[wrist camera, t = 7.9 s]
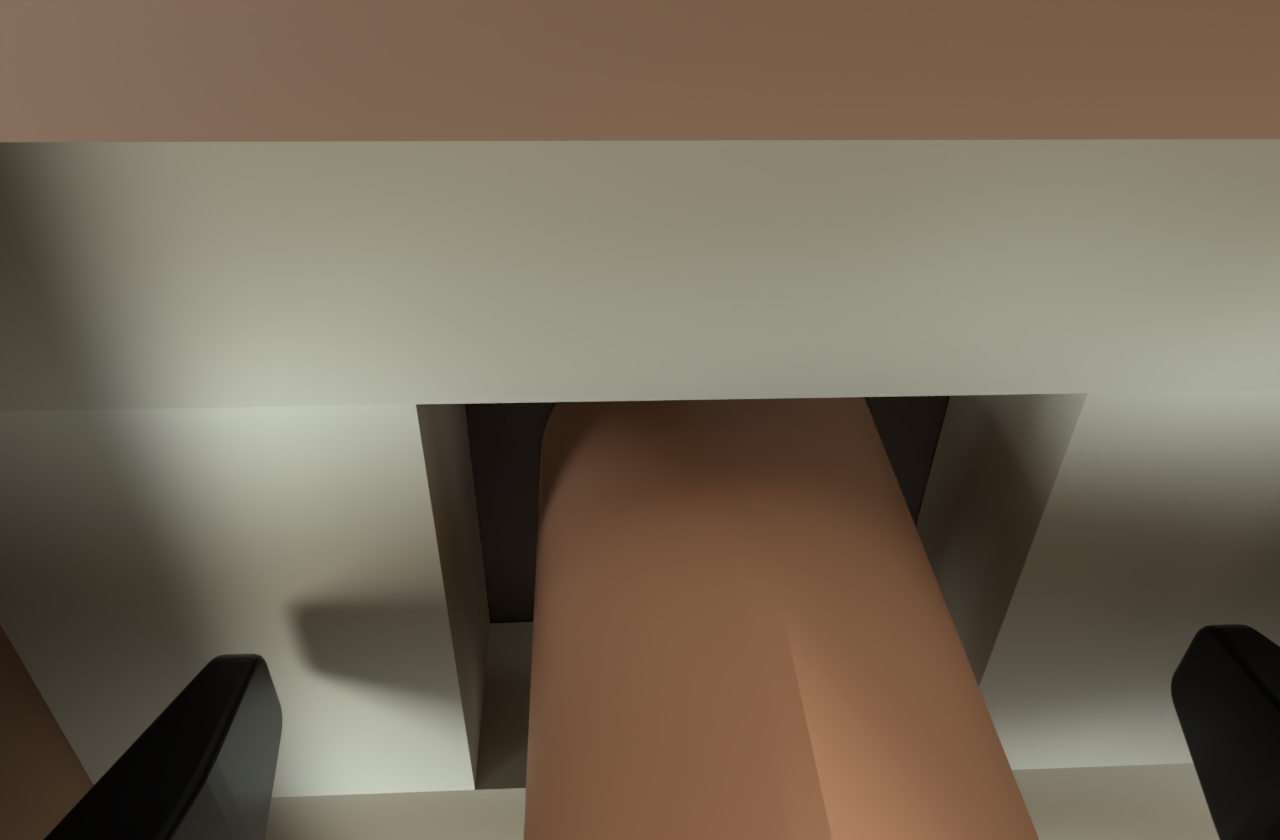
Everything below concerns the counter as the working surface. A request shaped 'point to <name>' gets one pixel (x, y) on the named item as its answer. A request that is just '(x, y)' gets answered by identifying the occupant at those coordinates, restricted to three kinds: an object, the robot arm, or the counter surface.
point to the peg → (746, 637)
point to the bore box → (617, 351)
